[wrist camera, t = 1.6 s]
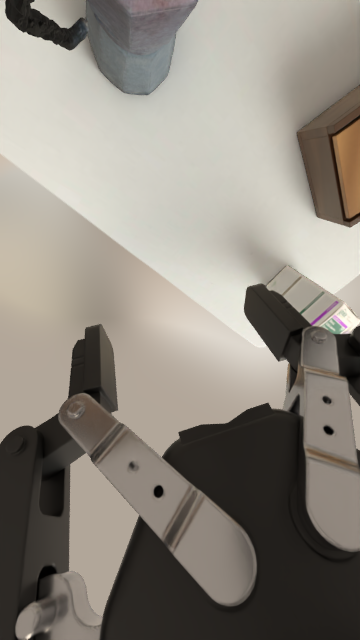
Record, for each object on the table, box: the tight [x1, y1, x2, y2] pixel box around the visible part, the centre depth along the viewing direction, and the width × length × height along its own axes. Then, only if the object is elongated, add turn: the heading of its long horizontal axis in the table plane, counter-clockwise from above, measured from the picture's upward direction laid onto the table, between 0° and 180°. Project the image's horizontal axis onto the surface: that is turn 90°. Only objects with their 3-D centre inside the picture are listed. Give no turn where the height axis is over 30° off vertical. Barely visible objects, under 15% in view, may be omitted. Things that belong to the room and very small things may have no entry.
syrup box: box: [266, 265, 360, 334], centre depth 38 cm, size 6×6×14 cm
